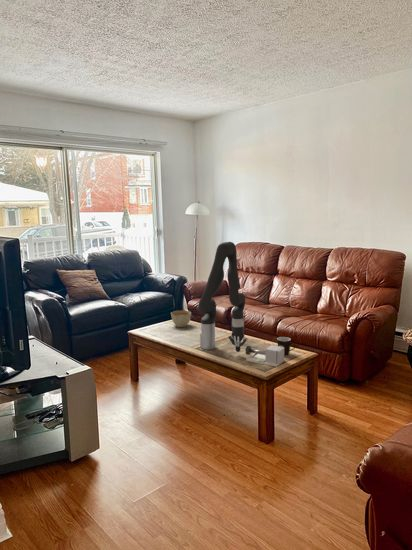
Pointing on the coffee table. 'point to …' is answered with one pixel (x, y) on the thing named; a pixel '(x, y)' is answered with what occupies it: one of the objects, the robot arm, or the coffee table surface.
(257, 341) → the coffee table surface
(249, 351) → the plunger
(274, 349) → the gauge body
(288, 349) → the coffee mug
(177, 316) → the planter bowl
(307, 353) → the coffee table surface
